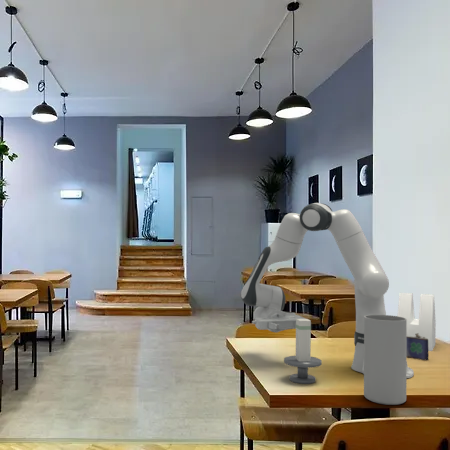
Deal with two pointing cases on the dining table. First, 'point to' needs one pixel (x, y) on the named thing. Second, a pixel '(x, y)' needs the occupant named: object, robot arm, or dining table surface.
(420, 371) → the dining table surface
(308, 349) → the column
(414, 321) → the white u-shaped block
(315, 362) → the pedestal
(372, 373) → the cylinder vase
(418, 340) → the flask
